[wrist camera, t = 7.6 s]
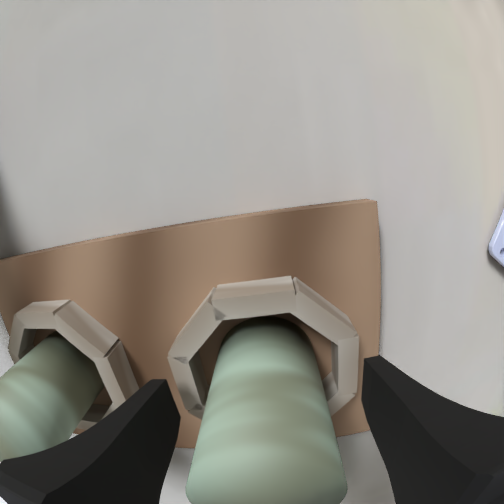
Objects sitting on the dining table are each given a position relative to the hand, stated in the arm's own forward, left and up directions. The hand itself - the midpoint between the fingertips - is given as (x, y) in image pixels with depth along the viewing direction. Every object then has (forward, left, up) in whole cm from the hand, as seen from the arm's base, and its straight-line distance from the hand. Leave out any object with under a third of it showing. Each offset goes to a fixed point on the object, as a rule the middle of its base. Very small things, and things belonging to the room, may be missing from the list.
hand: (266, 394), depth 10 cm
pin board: (+4, +3, -4) cm, 6 cm away
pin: (0, 0, -2) cm, 2 cm away
